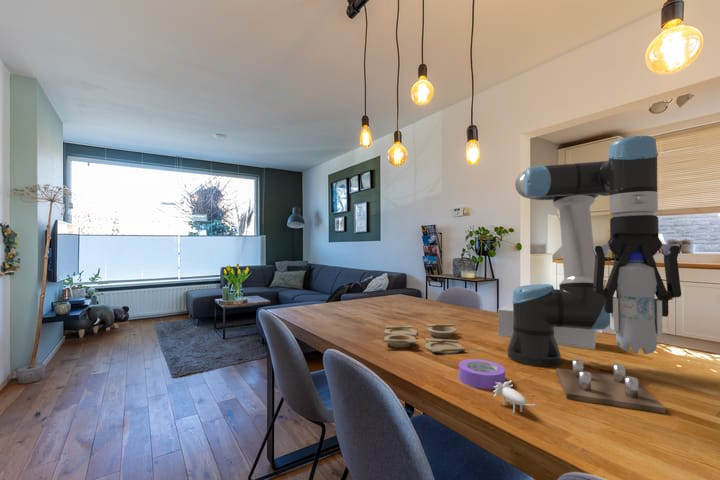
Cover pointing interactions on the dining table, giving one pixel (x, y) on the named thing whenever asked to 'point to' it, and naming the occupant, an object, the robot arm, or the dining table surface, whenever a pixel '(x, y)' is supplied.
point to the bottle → (636, 305)
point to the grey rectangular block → (561, 334)
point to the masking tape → (481, 373)
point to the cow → (510, 395)
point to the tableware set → (404, 338)
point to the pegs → (619, 377)
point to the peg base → (607, 392)
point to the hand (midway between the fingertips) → (635, 330)
